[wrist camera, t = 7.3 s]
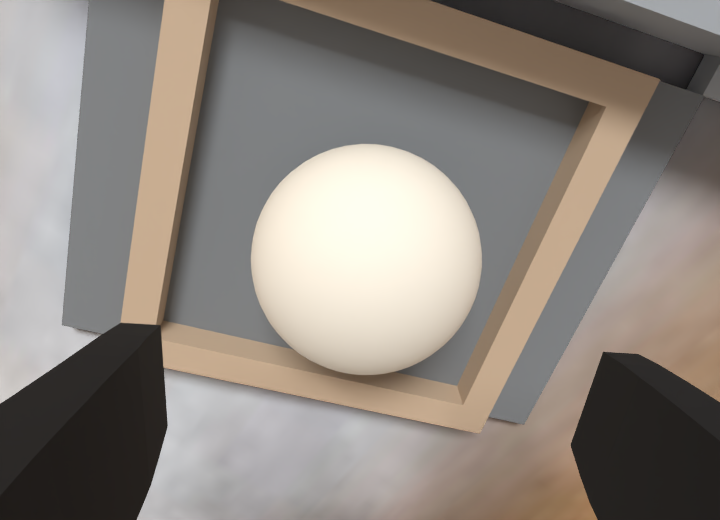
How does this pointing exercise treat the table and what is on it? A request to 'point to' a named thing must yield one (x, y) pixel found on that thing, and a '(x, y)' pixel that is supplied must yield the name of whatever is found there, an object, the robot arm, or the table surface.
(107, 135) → the resting mat
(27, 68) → the table surface
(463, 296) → the ball
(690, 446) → the robot arm
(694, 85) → the grey barrier bar
